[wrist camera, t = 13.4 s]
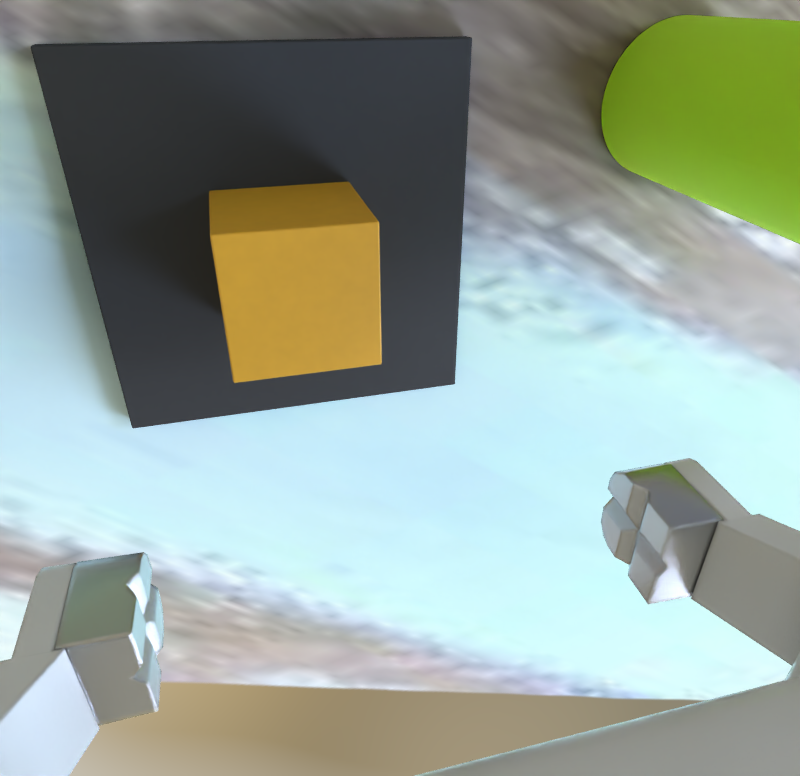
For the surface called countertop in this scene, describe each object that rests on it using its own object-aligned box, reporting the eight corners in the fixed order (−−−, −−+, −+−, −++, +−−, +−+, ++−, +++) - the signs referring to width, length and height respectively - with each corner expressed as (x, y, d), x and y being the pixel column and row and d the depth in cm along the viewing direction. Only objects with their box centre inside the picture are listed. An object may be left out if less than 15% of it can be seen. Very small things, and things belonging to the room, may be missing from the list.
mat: (466, 36, 23) (472, 37, 22) (450, 378, 30) (455, 384, 30) (34, 44, 20) (29, 45, 19) (133, 421, 27) (132, 428, 27)
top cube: (349, 181, 24) (379, 221, 20) (354, 306, 26) (382, 365, 22) (208, 190, 23) (209, 234, 19) (228, 319, 25) (233, 383, 21)
